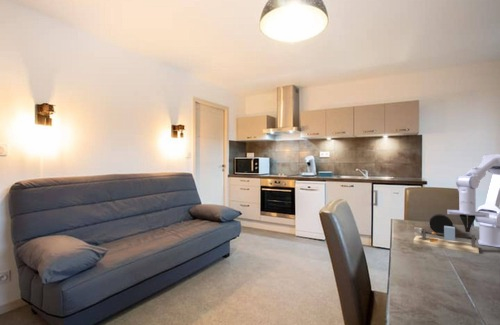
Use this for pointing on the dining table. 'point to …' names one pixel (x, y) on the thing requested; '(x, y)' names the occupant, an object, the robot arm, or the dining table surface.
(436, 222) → the black cylinder
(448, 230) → the light blue block
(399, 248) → the dining table surface
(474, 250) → the cord board
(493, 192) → the robot arm
